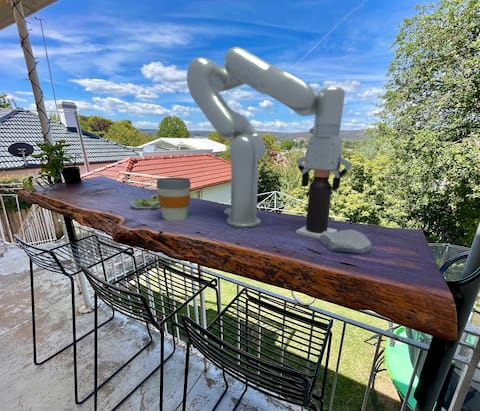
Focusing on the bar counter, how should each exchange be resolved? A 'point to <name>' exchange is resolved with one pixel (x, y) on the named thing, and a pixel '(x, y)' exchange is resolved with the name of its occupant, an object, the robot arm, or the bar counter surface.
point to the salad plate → (147, 203)
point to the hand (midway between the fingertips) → (319, 188)
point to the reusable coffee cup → (174, 197)
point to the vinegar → (319, 202)
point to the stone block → (346, 241)
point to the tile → (311, 234)
